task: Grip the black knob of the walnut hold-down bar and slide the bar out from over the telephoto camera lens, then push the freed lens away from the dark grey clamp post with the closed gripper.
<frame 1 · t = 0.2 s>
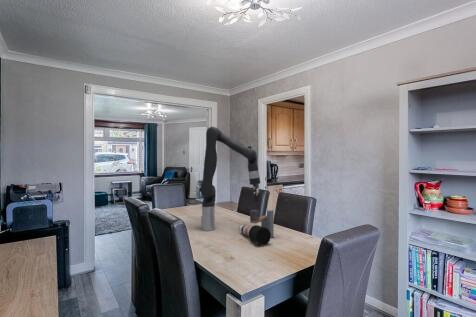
hand: (257, 200, 183), 23 cm above the table, tool pointing down, fingers open, 8 cm apart
clamp post: (267, 236, 173), on the table
telephoto camera lens: (250, 238, 172), on the table
hold down bar: (260, 214, 169), point 16 cm above the table, slide at 0.0 cm
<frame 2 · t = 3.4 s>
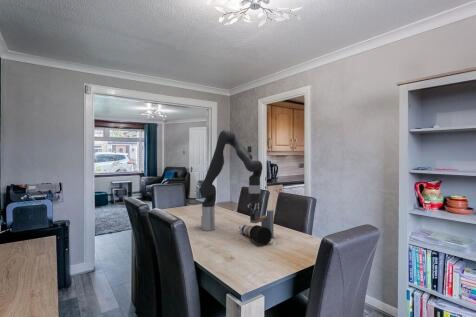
hand: (254, 218, 164), 14 cm above the table, tool pointing down, fingers closed on hold down bar, 4 cm apart
hold down bar: (260, 214, 169), point 16 cm above the table, slide at 0.0 cm, touching gripper
everything else where it was.
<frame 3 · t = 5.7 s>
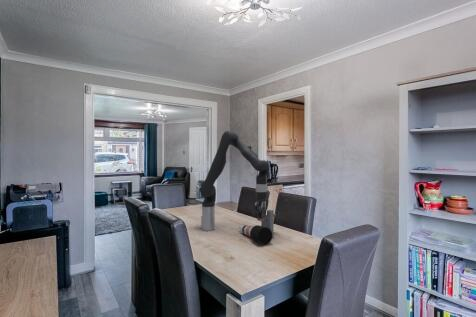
hand: (261, 216, 170), 14 cm above the table, tool pointing down, fingers closed on hold down bar, 4 cm apart
hold down bar: (266, 212, 175), point 16 cm above the table, slide at 7.8 cm, touching gripper
everything else where it was.
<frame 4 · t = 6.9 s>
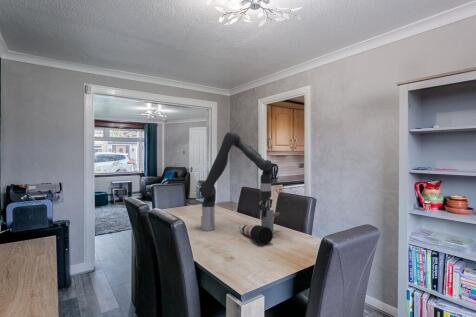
hand: (265, 215, 174), 14 cm above the table, tool pointing down, fingers closed on hold down bar, 4 cm apart
hold down bar: (270, 211, 179), point 16 cm above the table, slide at 12.8 cm, touching gripper
everything else where it was.
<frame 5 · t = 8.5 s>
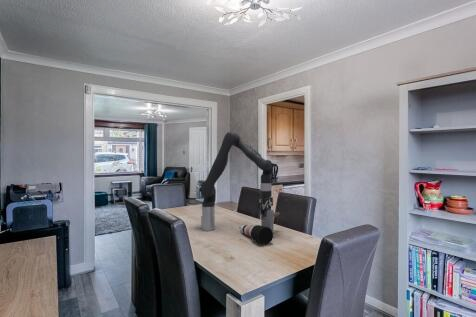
hand: (265, 213, 174), 15 cm above the table, tool pointing down, fingers open, 8 cm apart
hold down bar: (271, 211, 179), point 16 cm above the table, slide at 13.0 cm
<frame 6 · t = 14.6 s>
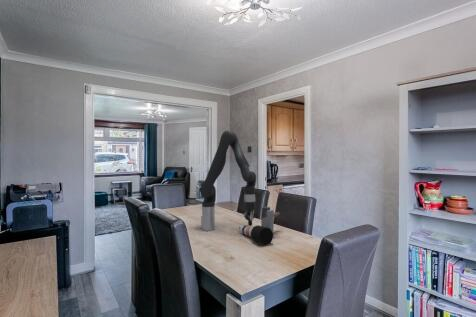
hand: (250, 225, 179), 6 cm above the table, tool pointing down, fingers closed
nothing on the table moved.
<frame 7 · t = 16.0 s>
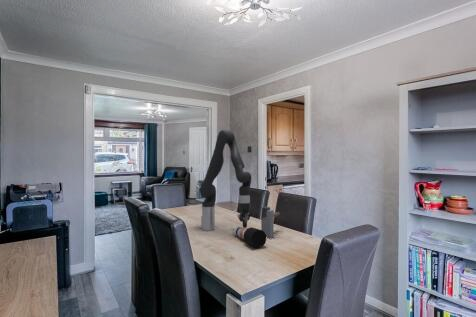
hand: (244, 227, 174), 6 cm above the table, tool pointing down, fingers closed
telephoto camera lens: (245, 240, 167), on the table
everything else where it was.
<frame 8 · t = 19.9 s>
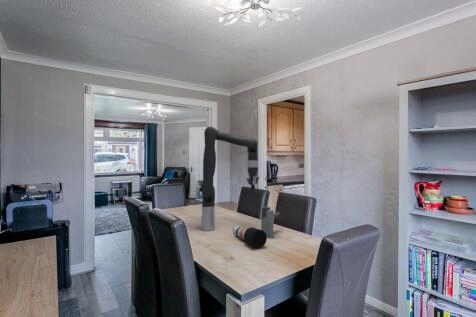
hand: (252, 190, 190), 29 cm above the table, tool pointing down, fingers closed
nothing on the table moved.
at the end: hold down bar slide at 13.0 cm; telephoto camera lens moved 5.9 cm from its start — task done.
